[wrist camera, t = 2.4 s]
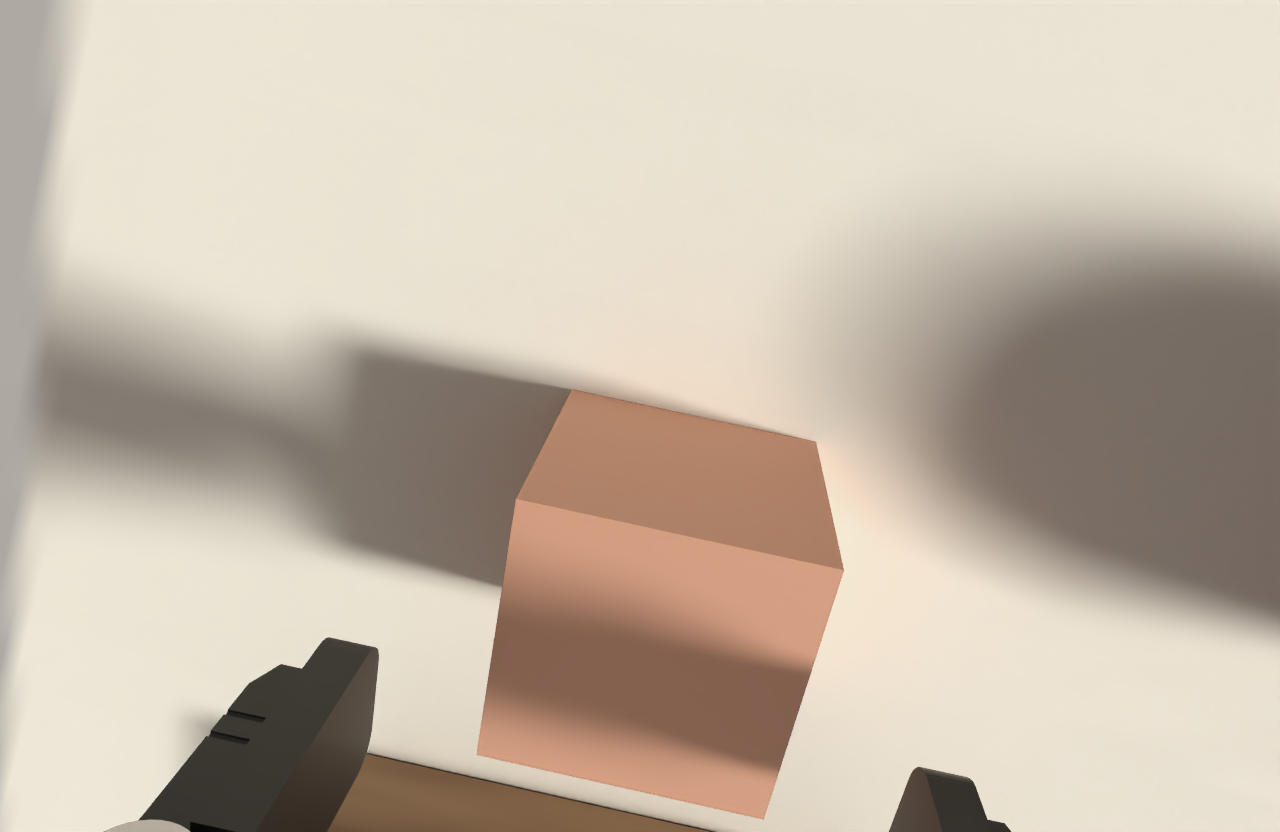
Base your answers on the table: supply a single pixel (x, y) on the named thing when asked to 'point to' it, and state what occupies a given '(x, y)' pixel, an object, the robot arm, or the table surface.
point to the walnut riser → (468, 806)
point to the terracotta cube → (661, 604)
